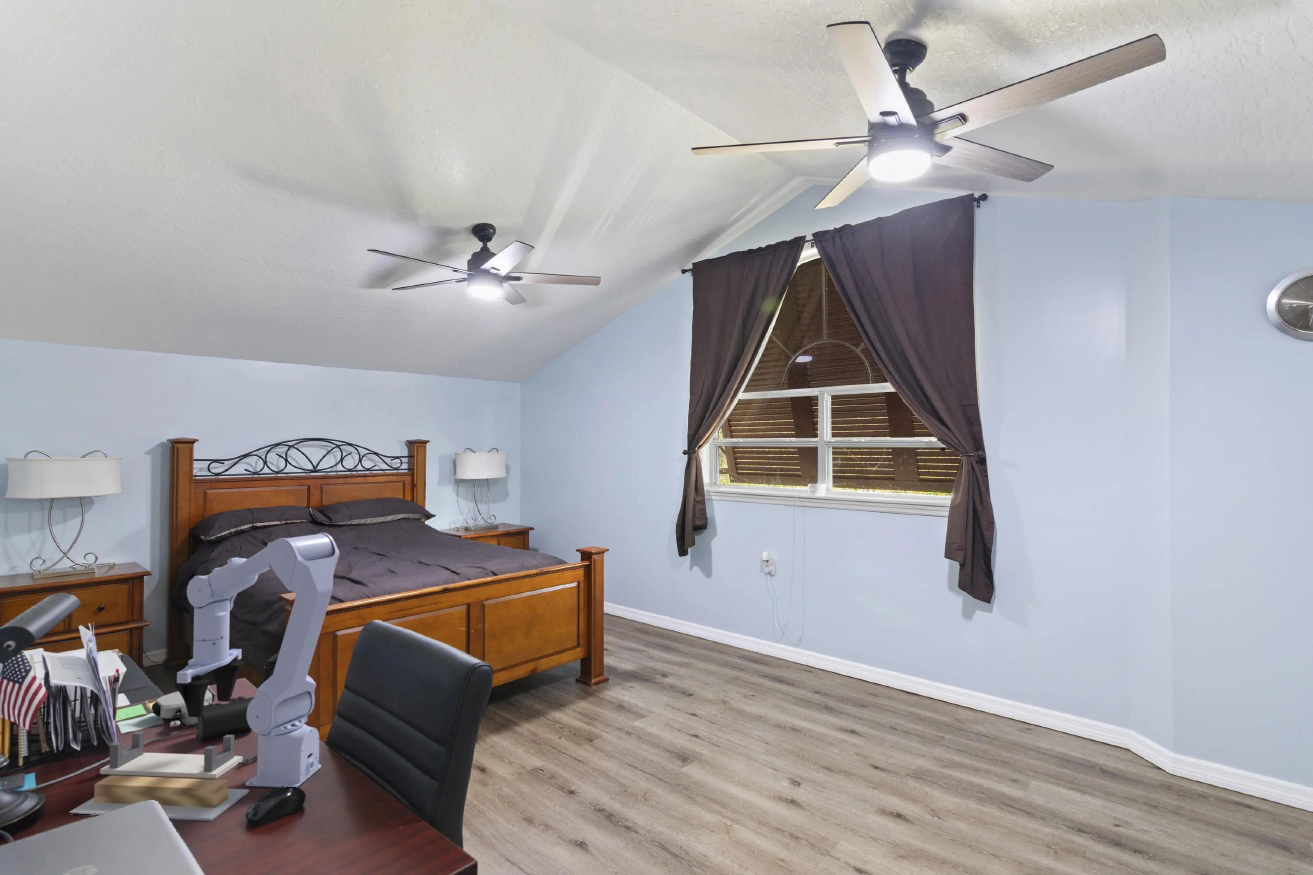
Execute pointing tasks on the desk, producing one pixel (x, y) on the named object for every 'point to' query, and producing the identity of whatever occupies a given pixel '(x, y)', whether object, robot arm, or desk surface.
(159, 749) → the desk surface
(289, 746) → the robot arm
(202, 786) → the oak rail
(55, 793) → the desk surface
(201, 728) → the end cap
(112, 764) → the hook rack
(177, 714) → the robot toy
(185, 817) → the rubber mat
